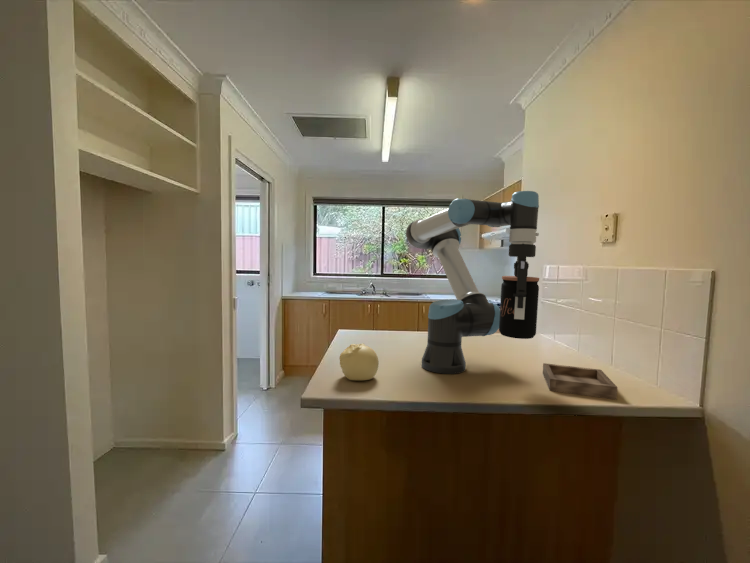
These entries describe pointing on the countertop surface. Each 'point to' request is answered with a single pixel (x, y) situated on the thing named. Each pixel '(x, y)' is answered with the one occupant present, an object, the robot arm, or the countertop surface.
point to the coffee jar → (507, 308)
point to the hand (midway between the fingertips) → (518, 316)
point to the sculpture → (359, 362)
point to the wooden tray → (579, 381)
